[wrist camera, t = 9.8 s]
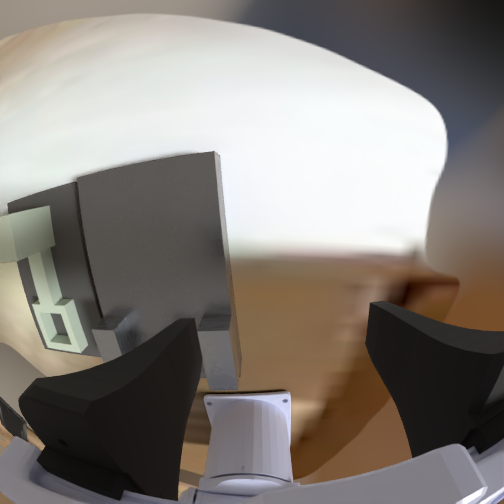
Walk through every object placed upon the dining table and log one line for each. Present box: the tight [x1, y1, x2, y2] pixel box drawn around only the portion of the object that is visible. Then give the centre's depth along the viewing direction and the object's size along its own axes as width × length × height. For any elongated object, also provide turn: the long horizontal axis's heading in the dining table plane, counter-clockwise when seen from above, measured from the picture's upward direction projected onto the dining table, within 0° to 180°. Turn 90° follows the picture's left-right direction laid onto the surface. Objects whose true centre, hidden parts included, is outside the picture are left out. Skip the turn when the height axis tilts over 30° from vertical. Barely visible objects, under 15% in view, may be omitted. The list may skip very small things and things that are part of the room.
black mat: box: [8, 182, 103, 357], centre depth 20 cm, size 16×10×1 cm, turn 5°
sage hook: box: [0, 206, 88, 353], centre depth 18 cm, size 13×5×5 cm, turn 4°
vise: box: [77, 151, 242, 390], centre depth 17 cm, size 16×10×6 cm, turn 5°
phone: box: [0, 397, 27, 442], centre depth 29 cm, size 8×1×15 cm
